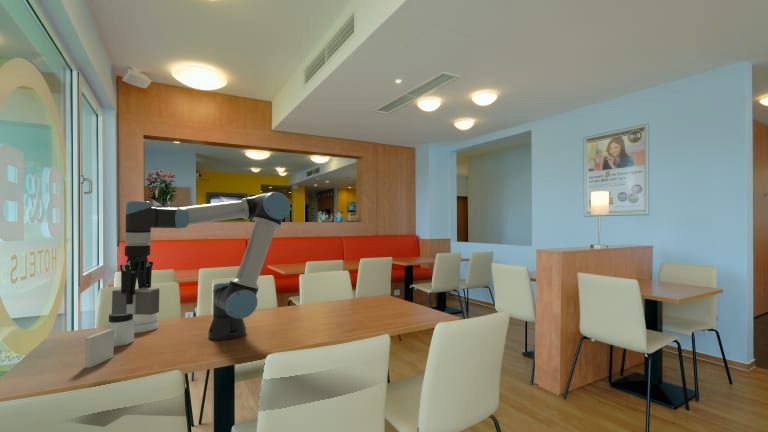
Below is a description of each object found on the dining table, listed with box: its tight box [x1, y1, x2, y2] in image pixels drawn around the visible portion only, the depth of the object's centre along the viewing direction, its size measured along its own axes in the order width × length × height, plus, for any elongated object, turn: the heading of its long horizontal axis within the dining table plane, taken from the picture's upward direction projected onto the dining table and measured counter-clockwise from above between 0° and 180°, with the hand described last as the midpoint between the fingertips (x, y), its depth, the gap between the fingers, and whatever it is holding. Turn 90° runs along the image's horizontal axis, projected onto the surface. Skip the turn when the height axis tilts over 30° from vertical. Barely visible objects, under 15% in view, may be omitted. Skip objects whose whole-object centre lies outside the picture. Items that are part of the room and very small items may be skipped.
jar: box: [106, 313, 135, 348], centre depth 149 cm, size 9×8×12 cm
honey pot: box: [133, 312, 160, 334], centre depth 170 cm, size 13×13×18 cm
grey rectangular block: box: [111, 287, 160, 315], centre depth 129 cm, size 14×4×8 cm, turn 88°
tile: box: [84, 329, 115, 368], centre depth 129 cm, size 2×10×10 cm, turn 178°
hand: (136, 311), depth 129 cm, fingers closed on grey rectangular block, 4 cm apart
